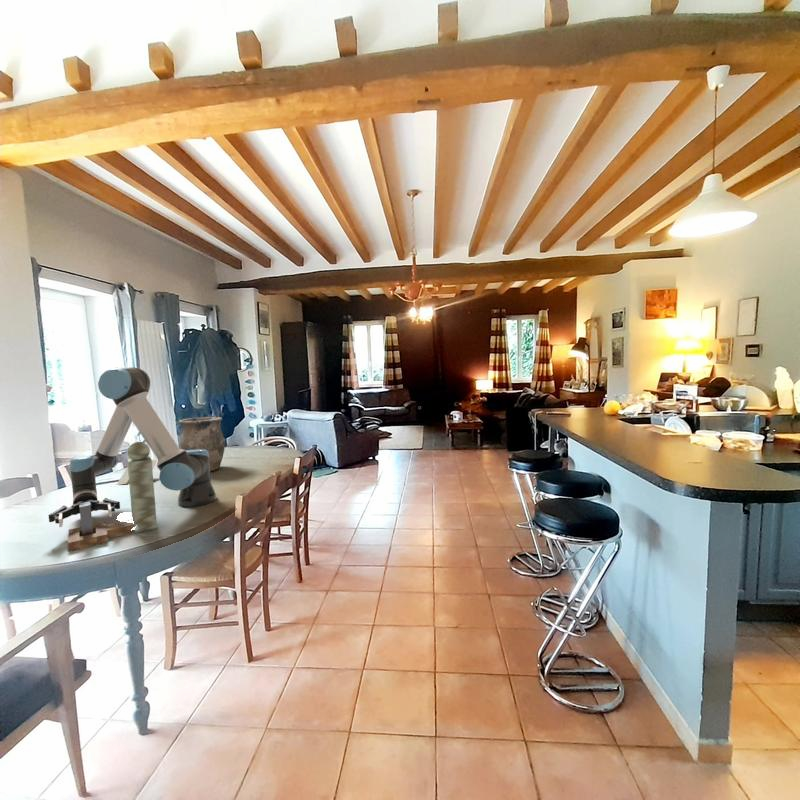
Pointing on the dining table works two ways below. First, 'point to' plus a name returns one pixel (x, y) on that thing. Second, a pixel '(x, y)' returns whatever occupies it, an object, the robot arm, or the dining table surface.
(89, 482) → the robot arm
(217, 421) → the clay pot
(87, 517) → the grey rectangular block
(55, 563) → the dining table surface
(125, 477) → the wall
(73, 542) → the knobbed post on base
